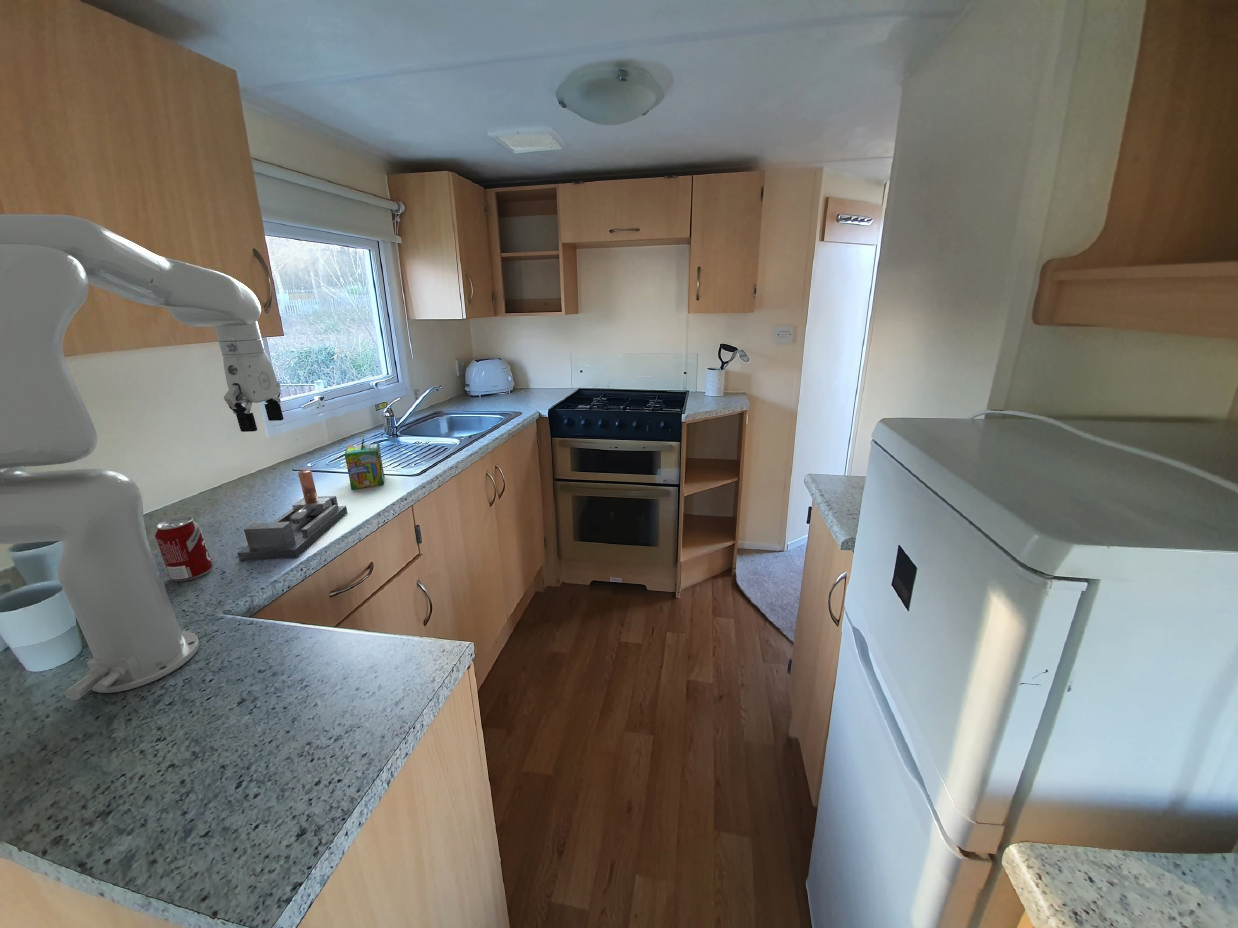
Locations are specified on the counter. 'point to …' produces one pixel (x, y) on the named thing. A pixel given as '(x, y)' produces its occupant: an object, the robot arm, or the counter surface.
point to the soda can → (183, 549)
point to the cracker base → (298, 540)
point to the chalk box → (364, 465)
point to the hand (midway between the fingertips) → (263, 425)
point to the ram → (308, 499)
